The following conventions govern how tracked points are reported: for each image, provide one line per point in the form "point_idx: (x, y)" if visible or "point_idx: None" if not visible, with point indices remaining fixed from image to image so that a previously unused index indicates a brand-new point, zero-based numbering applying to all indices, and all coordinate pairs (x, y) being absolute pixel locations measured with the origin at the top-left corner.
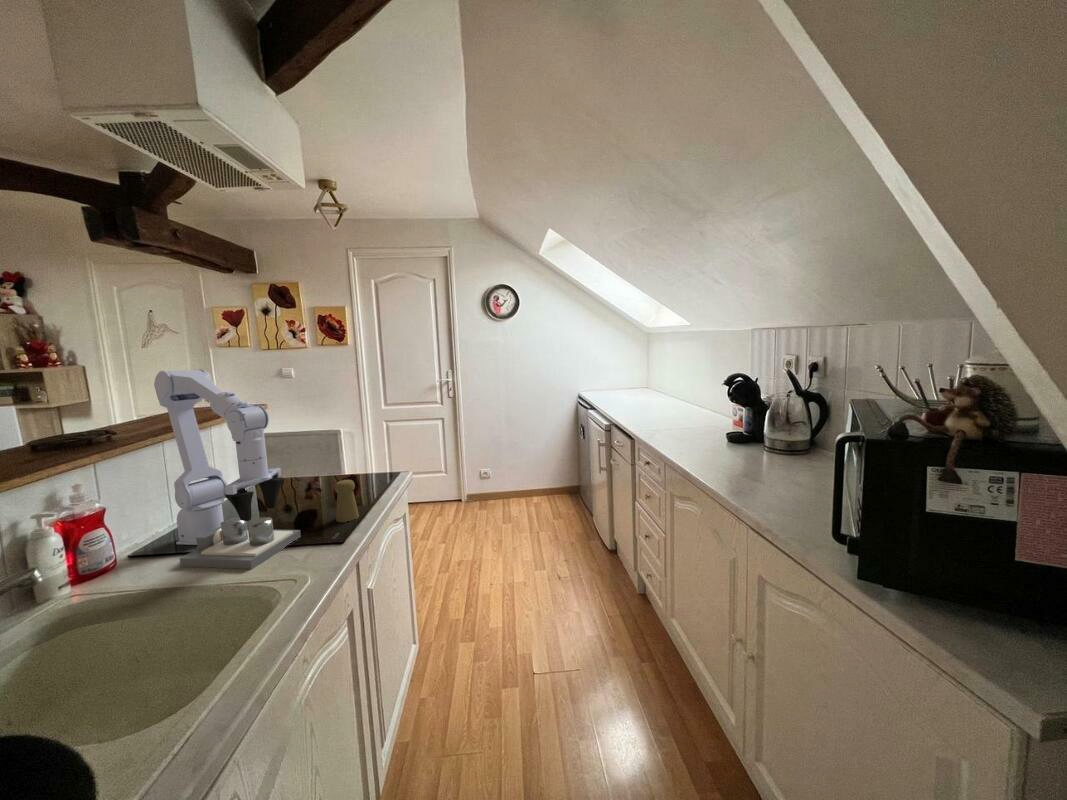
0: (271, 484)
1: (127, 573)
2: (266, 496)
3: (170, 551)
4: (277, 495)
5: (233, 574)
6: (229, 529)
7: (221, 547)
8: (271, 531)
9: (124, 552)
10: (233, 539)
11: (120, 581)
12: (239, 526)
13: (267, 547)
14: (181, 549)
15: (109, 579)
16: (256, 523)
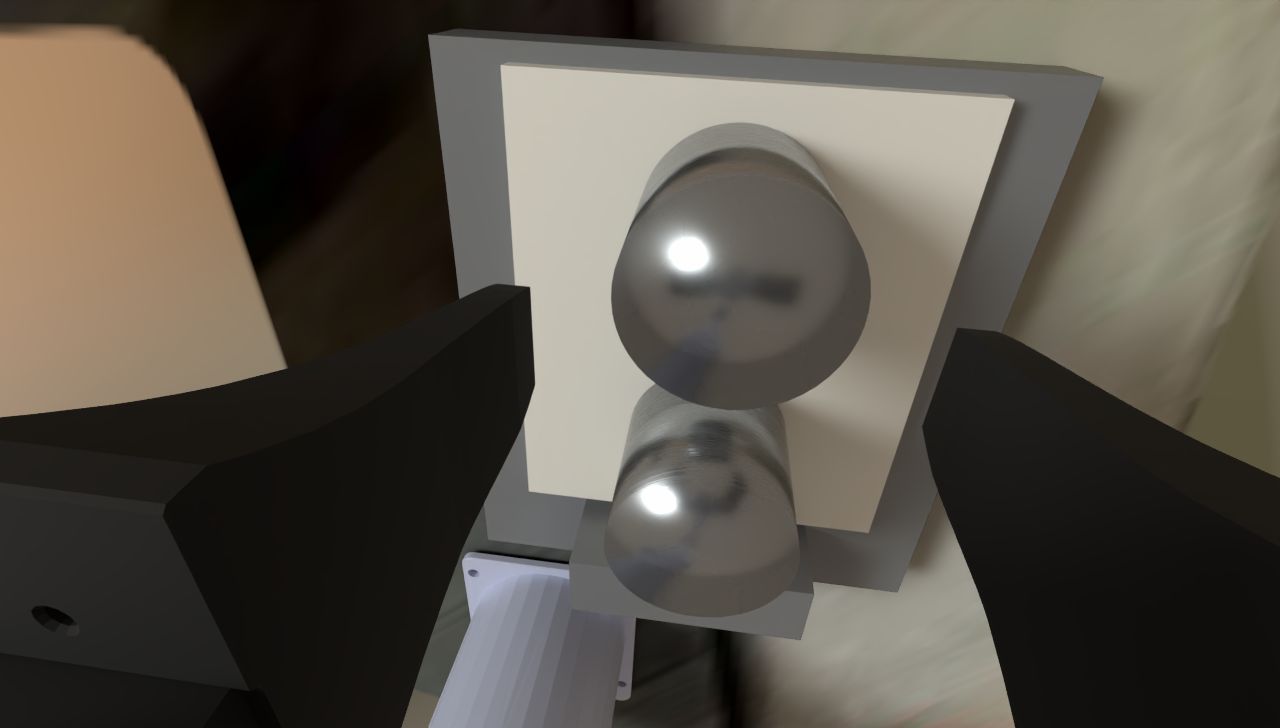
0: (325, 569)
1: (911, 696)
2: (466, 481)
3: (696, 674)
4: (384, 335)
5: (1117, 167)
6: (792, 506)
7: (814, 457)
8: (733, 145)
9: None
10: (778, 430)
11: (994, 679)
12: (744, 464)
13: (853, 88)
14: (676, 649)
15: (958, 719)
16: (799, 305)
